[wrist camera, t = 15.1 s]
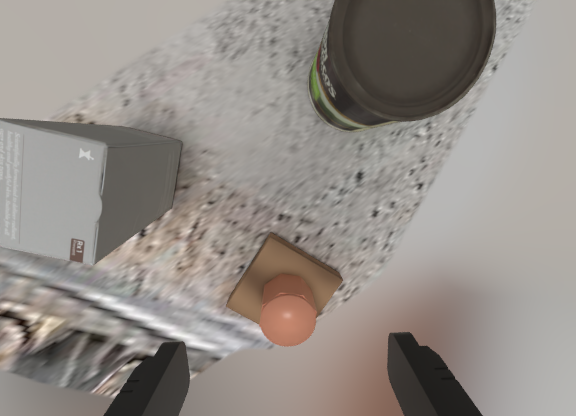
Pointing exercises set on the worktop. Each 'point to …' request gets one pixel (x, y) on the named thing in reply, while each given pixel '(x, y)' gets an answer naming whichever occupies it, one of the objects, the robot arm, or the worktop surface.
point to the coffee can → (398, 59)
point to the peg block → (281, 260)
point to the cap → (287, 310)
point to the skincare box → (81, 186)
